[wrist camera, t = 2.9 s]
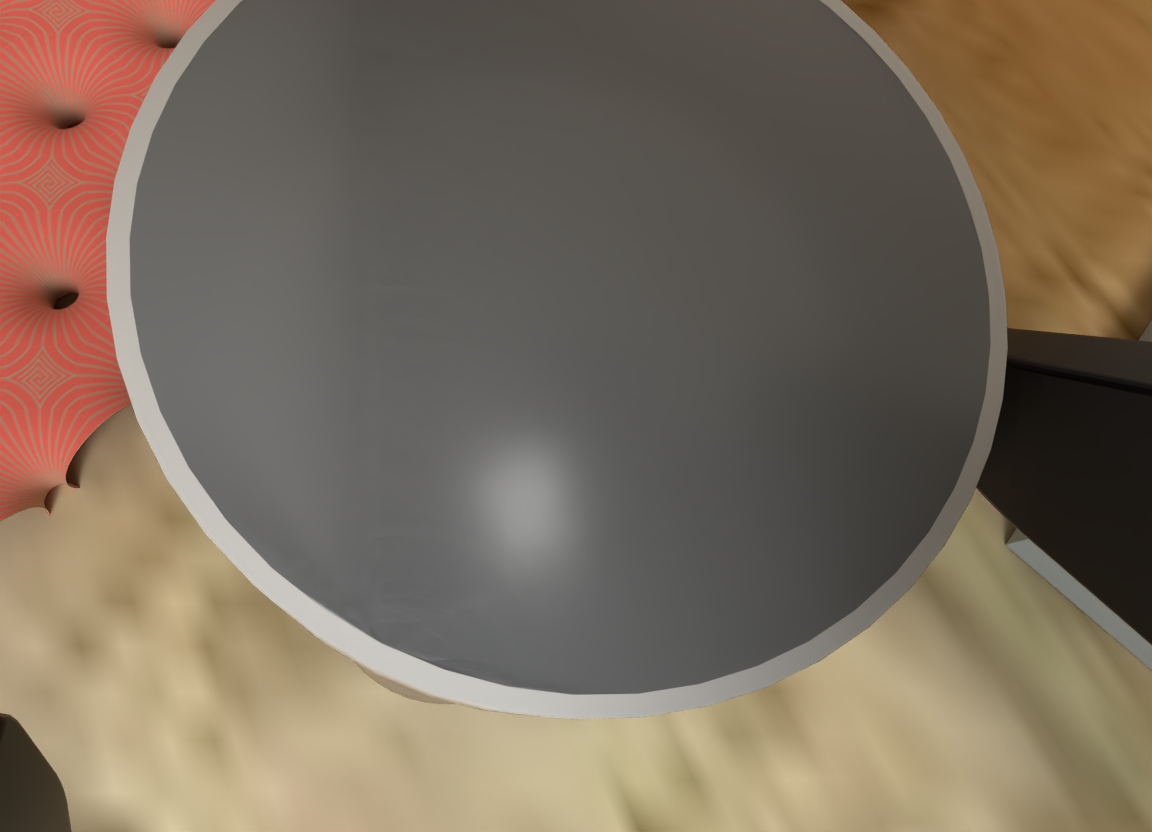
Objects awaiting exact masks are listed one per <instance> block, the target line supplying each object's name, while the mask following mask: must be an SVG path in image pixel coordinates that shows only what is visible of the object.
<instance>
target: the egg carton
mask: <svg viewBox="0 0 1152 832" xmlns="http://www.w3.org/2000/svg"><path fill="white" fill-rule="evenodd" d="M214 2H215V0H0V521H2V520H3V519H5V518H7V517H9V516H11V515H13V514H15V513H17V512H19V511H22V510H25V509H28V508H33V507H43V508H45V504H44V502H45V497H46V495H47V494H48V492H49V491H50V490H51V489H52V488H54V487H55V486H57V485H60V484H67V485H69V486H70V487H73V488H79V487H78V486H76V485H74V484H70V483H67V482H66V472H67V468H68V466H69V464H70V462H71V460H72V458H73V456H74V455H75V453H76V452H77V450H78V449H79V448H80V446H81V445H82V444H83V443H84V441H85V440H86V439H87V438H88V437H89V436H90V435H91V434H92V433H93V432H94V431H95V430H96V429H97V428H98V427H99V426H100V425H101V424H102V423H103V422H105V421H106V420H107V419H108V418H110V417H111V416H112V415H114V414H115V413H116V412H118V411H119V410H121V409H123V408H124V407H126V406H128V405H130V404H132V403H131V400H130V397H129V394H128V391H127V388H126V385H125V382H124V379H123V376H122V373H121V370H120V367H119V364H118V361H117V356H116V350H115V344H114V338H113V332H112V326H111V320H110V314H109V308H108V302H107V273H106V235H107V228H108V222H109V215H110V208H111V201H112V194H113V187H114V181H115V177H116V174H117V171H118V168H119V164H120V161H121V158H122V155H123V151H124V148H125V145H126V142H127V138H128V135H129V132H130V129H131V126H132V124H133V122H134V120H135V118H136V116H137V113H138V111H139V109H140V107H141V105H142V103H143V101H144V99H145V97H146V95H147V93H148V91H149V89H150V87H151V85H152V83H153V81H154V79H155V77H156V75H157V74H158V72H159V71H160V69H161V68H162V66H163V65H164V63H165V62H166V61H167V59H168V58H169V56H170V55H171V53H172V52H173V50H174V49H175V48H176V46H177V45H178V43H179V42H180V40H181V39H182V37H183V36H184V35H185V33H186V32H187V31H188V29H189V28H190V27H191V26H192V25H193V24H194V23H195V22H196V21H197V20H198V19H199V18H200V17H201V15H202V14H203V13H204V12H205V11H206V10H207V9H208V8H209V7H210V6H211V5H212V4H213V3H214ZM79 123H80V124H79ZM73 124H79V125H77V126H75V127H73V128H69V129H66V128H67V127H69V126H71V125H73ZM1 141H2V142H1ZM70 293H78V294H79V296H78V298H77V300H76V301H75V302H74V303H73V304H72V305H70V306H69V307H67V308H64V309H59V310H55V309H53V308H54V305H55V303H56V301H57V300H58V299H59V298H60V297H62V296H64V295H66V294H70ZM45 510H46V512H47V514H48V515H49V516H50V514H49V511H48V510H47V509H46V508H45Z"/></svg>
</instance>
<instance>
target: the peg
mask: <svg viewBox="0 0 1152 832" xmlns="http://www.w3.org/2000/svg"><path fill="white" fill-rule="evenodd" d="M106 273H107V302H108V308H109V314H110V320H111V326H112V332H113V338H114V344H115V350H116V356H117V361H118V364H119V367H120V370H121V373H122V376H123V379H124V382H125V385H126V388H127V391H128V394H129V397H130V400H131V403H132V406H133V409H134V412H135V415H136V418H137V421H138V423H139V425H140V427H141V429H142V431H143V433H144V435H145V437H146V439H147V441H148V443H149V445H150V447H151V449H152V451H153V453H154V455H155V457H156V459H157V461H158V463H159V465H160V467H161V469H162V470H163V472H164V474H165V476H166V478H167V480H168V482H169V483H170V484H171V486H172V487H173V489H174V490H175V491H176V493H177V494H178V496H179V497H180V499H181V500H182V501H183V503H184V504H185V506H186V507H187V508H188V510H189V511H190V513H191V514H192V516H193V517H194V518H195V520H196V521H197V523H198V524H199V525H200V527H201V528H202V530H203V531H204V533H205V534H206V535H207V536H208V537H209V538H210V539H211V541H212V542H213V543H214V544H215V545H216V546H217V547H218V548H219V549H220V550H221V551H222V552H223V553H224V554H225V555H226V556H227V557H228V558H229V560H230V561H231V562H232V563H233V564H234V565H235V566H236V567H237V568H238V569H239V570H240V571H241V572H242V573H243V574H244V575H245V576H246V577H247V579H248V580H249V581H250V582H251V583H252V584H253V585H254V586H255V587H256V588H258V589H259V590H260V591H261V592H262V593H263V594H265V595H266V596H267V597H268V598H269V599H270V600H272V601H273V602H274V603H275V604H276V605H277V606H278V607H280V608H281V609H282V610H283V611H284V612H285V613H287V614H288V615H289V616H290V617H292V618H293V619H294V620H296V621H297V622H298V623H299V624H301V625H302V626H303V627H304V628H306V629H307V630H308V631H309V632H311V633H312V634H313V635H314V636H316V637H317V638H318V639H319V640H321V641H322V642H323V643H324V644H326V645H327V646H328V647H330V648H332V649H333V650H335V651H337V652H338V653H340V654H342V655H343V656H345V657H347V658H348V659H350V660H352V661H354V662H355V663H356V664H357V665H358V666H359V667H360V668H361V669H362V670H363V671H364V673H366V674H367V675H368V676H369V677H371V678H372V679H373V680H374V681H376V682H377V683H378V684H380V685H382V686H384V687H385V688H387V689H389V690H390V691H392V692H395V693H397V694H399V695H402V696H404V697H407V698H410V699H414V700H418V701H421V702H427V703H436V704H460V705H463V706H467V707H471V708H475V709H479V710H485V711H494V712H502V713H510V714H519V715H527V716H537V717H552V718H567V719H592V718H640V717H646V716H652V715H658V714H664V713H670V712H677V711H683V710H689V709H695V708H701V707H706V706H709V705H712V704H715V703H719V702H722V701H725V700H728V699H731V698H734V697H737V696H741V695H744V694H747V693H750V692H753V691H756V690H760V689H763V688H766V687H768V686H770V685H772V684H774V683H776V682H778V681H780V680H782V679H784V678H786V677H788V676H790V675H792V674H794V673H796V672H798V671H801V670H803V669H805V668H807V667H809V666H811V665H813V664H815V663H817V662H819V661H821V660H822V659H824V658H825V657H827V656H828V655H829V654H831V653H832V652H834V651H835V650H837V649H838V648H840V647H841V646H843V645H844V644H846V643H847V642H848V641H850V640H851V639H853V638H854V637H856V636H857V635H859V634H860V633H862V632H863V631H864V630H866V629H867V628H869V627H870V626H871V625H872V624H873V623H874V622H875V621H876V620H877V619H878V618H879V617H881V616H882V615H883V614H884V613H885V612H886V611H887V610H888V609H889V608H890V607H891V606H892V605H893V604H894V603H896V602H897V601H898V600H899V599H900V598H901V597H902V596H903V595H904V594H905V593H906V592H907V591H908V590H909V589H910V588H911V587H912V586H913V585H914V583H915V582H916V581H917V580H918V578H919V577H920V576H921V575H922V573H923V572H924V571H925V570H926V568H927V567H928V566H929V565H930V563H931V562H932V561H933V559H934V558H935V557H936V556H937V554H938V553H939V552H940V551H941V549H942V548H943V547H944V546H945V544H946V542H947V540H948V539H949V537H950V535H951V534H952V532H953V530H954V528H955V527H956V525H957V523H958V521H959V520H960V518H961V516H962V514H963V513H964V511H965V509H966V507H967V506H968V504H969V502H970V500H971V499H972V496H973V494H974V491H975V489H976V486H977V484H978V481H979V478H980V476H981V473H982V471H983V468H984V466H985V463H986V461H987V458H988V456H989V453H990V451H991V447H992V443H993V439H994V434H995V430H996V426H997V422H998V418H999V413H1000V409H1001V405H1002V401H1003V392H1004V382H1005V371H1006V361H1007V350H1008V344H1007V317H1006V296H1005V290H1004V284H1003V278H1002V272H1001V266H1000V260H999V254H998V248H997V245H996V241H995V238H994V235H993V231H992V228H991V224H990V221H989V218H988V214H987V211H986V208H985V204H984V201H983V198H982V196H981V194H980V191H979V189H978V187H977V184H976V182H975V180H974V177H973V175H972V173H971V170H970V168H969V165H968V163H967V161H966V158H965V156H964V154H963V152H962V150H961V149H960V147H959V145H958V143H957V142H956V140H955V138H954V136H953V135H952V133H951V131H950V129H949V127H948V126H947V124H946V122H945V120H944V119H943V117H942V115H941V113H940V112H939V110H938V109H937V107H936V106H935V104H934V103H933V102H932V100H931V99H930V98H929V96H928V95H927V93H926V92H925V91H924V89H923V88H922V86H921V85H920V84H919V82H918V81H917V79H916V78H915V77H914V75H913V74H912V73H911V71H910V70H909V69H908V68H907V66H906V65H905V64H904V63H903V62H902V61H901V60H900V59H899V57H898V56H897V55H896V54H895V53H894V52H893V51H892V50H891V49H890V47H889V46H888V45H887V44H886V43H885V42H884V41H883V40H882V38H881V37H880V36H879V35H878V34H877V33H876V32H875V31H874V30H873V29H872V28H871V27H870V26H868V25H867V24H866V23H865V22H864V21H863V20H862V19H861V18H860V17H859V16H858V15H856V14H855V13H854V12H853V11H852V10H851V9H850V8H849V7H848V6H847V5H845V4H844V3H843V2H842V1H841V0H215V2H214V3H213V4H212V5H211V6H210V7H209V8H208V9H207V10H206V11H205V12H204V13H203V14H202V15H201V17H200V18H199V19H198V20H197V21H196V22H195V23H194V24H193V25H192V26H191V27H190V28H189V29H188V31H187V32H186V33H185V35H184V36H183V37H182V39H181V40H180V42H179V43H178V45H177V46H176V48H175V49H174V50H173V52H172V53H171V55H170V56H169V58H168V59H167V61H166V62H165V63H164V65H163V66H162V68H161V69H160V71H159V72H158V74H157V75H156V77H155V79H154V81H153V83H152V85H151V87H150V89H149V91H148V93H147V95H146V97H145V99H144V101H143V103H142V105H141V107H140V109H139V111H138V113H137V116H136V118H135V120H134V122H133V124H132V126H131V129H130V132H129V135H128V138H127V142H126V145H125V148H124V151H123V155H122V158H121V161H120V164H119V168H118V171H117V174H116V177H115V181H114V187H113V194H112V201H111V208H110V215H109V222H108V228H107V235H106Z"/></svg>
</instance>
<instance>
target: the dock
mask: <svg viewBox="0 0 1152 832" xmlns="http://www.w3.org/2000/svg"><path fill="white" fill-rule="evenodd" d="M1139 340H1140V341H1151V342H1152V320H1151V322H1150V323H1149V325H1148V326H1147V328H1146V329H1145V331H1144V332H1143V334H1142V335H1141V337H1140V339H1139ZM1006 546H1008V547H1009V548H1010V549H1011V550H1012V551H1013V552H1015V553H1016V554H1017V555H1018V556H1019V557H1020V558H1022V559H1023V560H1024V561H1025V562H1026V563H1027V564H1029V565H1030V566H1031V567H1032V568H1033V569H1034V570H1036V571H1037V572H1038V573H1039V574H1040V575H1041V576H1042V577H1044V578H1045V579H1046V580H1047V581H1048V582H1049V583H1051V584H1052V585H1053V586H1054V587H1055V588H1056V589H1058V590H1059V591H1060V592H1061V593H1062V594H1063V595H1065V596H1066V597H1067V598H1068V599H1069V600H1070V601H1072V602H1073V603H1074V604H1075V605H1076V606H1077V607H1079V608H1080V609H1081V610H1082V611H1083V612H1084V613H1086V614H1087V615H1088V616H1089V617H1090V618H1091V619H1093V620H1094V621H1095V622H1096V623H1097V624H1098V625H1100V626H1101V627H1102V628H1103V629H1104V630H1105V631H1107V632H1108V633H1109V634H1110V635H1111V636H1112V637H1114V638H1115V639H1116V640H1117V641H1118V642H1119V643H1121V644H1122V645H1123V646H1124V647H1125V648H1126V649H1128V650H1129V651H1130V652H1131V653H1132V654H1133V655H1135V656H1136V657H1137V658H1138V659H1139V660H1140V661H1141V662H1143V663H1144V664H1145V665H1146V666H1147V667H1148V668H1150V669H1151V670H1152V645H1150V644H1149V643H1148V642H1147V641H1146V640H1145V639H1143V638H1142V637H1141V636H1140V635H1139V634H1138V633H1137V632H1135V631H1134V630H1133V629H1132V628H1131V627H1130V626H1128V625H1127V624H1126V623H1125V622H1124V621H1123V620H1121V619H1120V618H1119V617H1118V616H1117V615H1116V614H1115V613H1113V612H1112V611H1111V610H1110V609H1109V608H1108V607H1106V606H1105V605H1104V604H1103V603H1102V602H1101V601H1100V600H1098V599H1097V598H1096V597H1095V596H1094V595H1093V594H1091V593H1090V592H1089V591H1088V590H1087V589H1086V588H1085V587H1083V586H1082V585H1081V584H1080V583H1079V582H1078V581H1076V580H1075V579H1074V578H1073V577H1072V576H1071V575H1070V574H1068V573H1067V572H1066V571H1065V570H1064V569H1063V568H1061V567H1060V566H1059V565H1058V564H1057V563H1056V562H1055V561H1053V560H1052V559H1051V558H1050V557H1049V556H1048V555H1046V554H1045V553H1044V552H1043V551H1042V550H1041V549H1040V548H1038V547H1037V546H1036V545H1035V544H1034V543H1033V542H1031V541H1030V540H1029V539H1028V538H1027V537H1026V536H1025V535H1023V534H1022V533H1021V532H1020V531H1019V530H1018V529H1017V528H1016V530H1015V531H1014V533H1013V534H1012V536H1011V537H1010V539H1009V540H1008V542H1007V544H1006Z"/></svg>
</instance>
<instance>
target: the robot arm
mask: <svg viewBox="0 0 1152 832" xmlns="http://www.w3.org/2000/svg"><path fill="white" fill-rule="evenodd" d="M1007 344H1008V350H1007V361H1006V371H1005V382H1004V392H1003V401H1002V405H1001V409H1000V413H999V418H998V422H997V426H996V430H995V434H994V439H993V443H992V447H991V451H990V453H989V456H988V458H987V461H986V463H985V466H984V468H983V471H982V473H981V476H980V478H979V481H978V484H977V486H976V488H977V489H978V491H979V492H980V493H981V494H982V495H983V496H984V497H985V498H986V499H987V500H988V501H989V502H990V503H991V504H992V505H993V506H994V507H995V508H996V509H997V510H998V511H999V512H1000V513H1001V514H1002V515H1003V516H1004V517H1005V518H1006V519H1007V520H1008V521H1009V522H1010V523H1011V524H1012V525H1013V526H1015V527H1016V528H1017V529H1018V530H1019V531H1020V532H1021V533H1022V534H1023V535H1025V536H1026V537H1027V538H1028V539H1029V540H1030V541H1031V542H1033V543H1034V544H1035V545H1036V546H1037V547H1038V548H1040V549H1041V550H1042V551H1043V552H1044V553H1045V554H1046V555H1048V556H1049V557H1050V558H1051V559H1052V560H1053V561H1055V562H1056V563H1057V564H1058V565H1059V566H1060V567H1061V568H1063V569H1064V570H1065V571H1066V572H1067V573H1068V574H1070V575H1071V576H1072V577H1073V578H1074V579H1075V580H1076V581H1078V582H1079V583H1080V584H1081V585H1082V586H1083V587H1085V588H1086V589H1087V590H1088V591H1089V592H1090V593H1091V594H1093V595H1094V596H1095V597H1096V598H1097V599H1098V600H1100V601H1101V602H1102V603H1103V604H1104V605H1105V606H1106V607H1108V608H1109V609H1110V610H1111V611H1112V612H1113V613H1115V614H1116V615H1117V616H1118V617H1119V618H1120V619H1121V620H1123V621H1124V622H1125V623H1126V624H1127V625H1128V626H1130V627H1131V628H1132V629H1133V630H1134V631H1135V632H1137V633H1138V634H1139V635H1140V636H1141V637H1142V638H1143V639H1145V640H1146V641H1147V642H1148V643H1149V644H1150V645H1152V342H1151V341H1140V340H1129V339H1119V338H1108V337H1097V336H1086V335H1076V334H1065V333H1054V332H1043V331H1032V330H1022V329H1011V328H1007ZM0 832H72V831H71V824H70V818H69V811H68V804H67V799H66V796H65V792H64V789H63V786H62V784H61V782H60V780H59V778H58V776H57V774H56V773H55V771H54V770H53V768H52V767H51V766H50V764H49V763H48V762H47V760H46V759H45V757H44V756H43V755H42V753H41V752H40V750H39V749H38V748H37V746H36V745H35V744H34V742H33V741H32V739H31V738H30V737H29V735H28V734H27V733H26V731H25V730H24V728H23V727H22V726H21V724H20V723H19V722H18V721H17V720H16V719H15V718H13V717H12V716H11V715H9V714H2V713H0Z"/></svg>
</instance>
